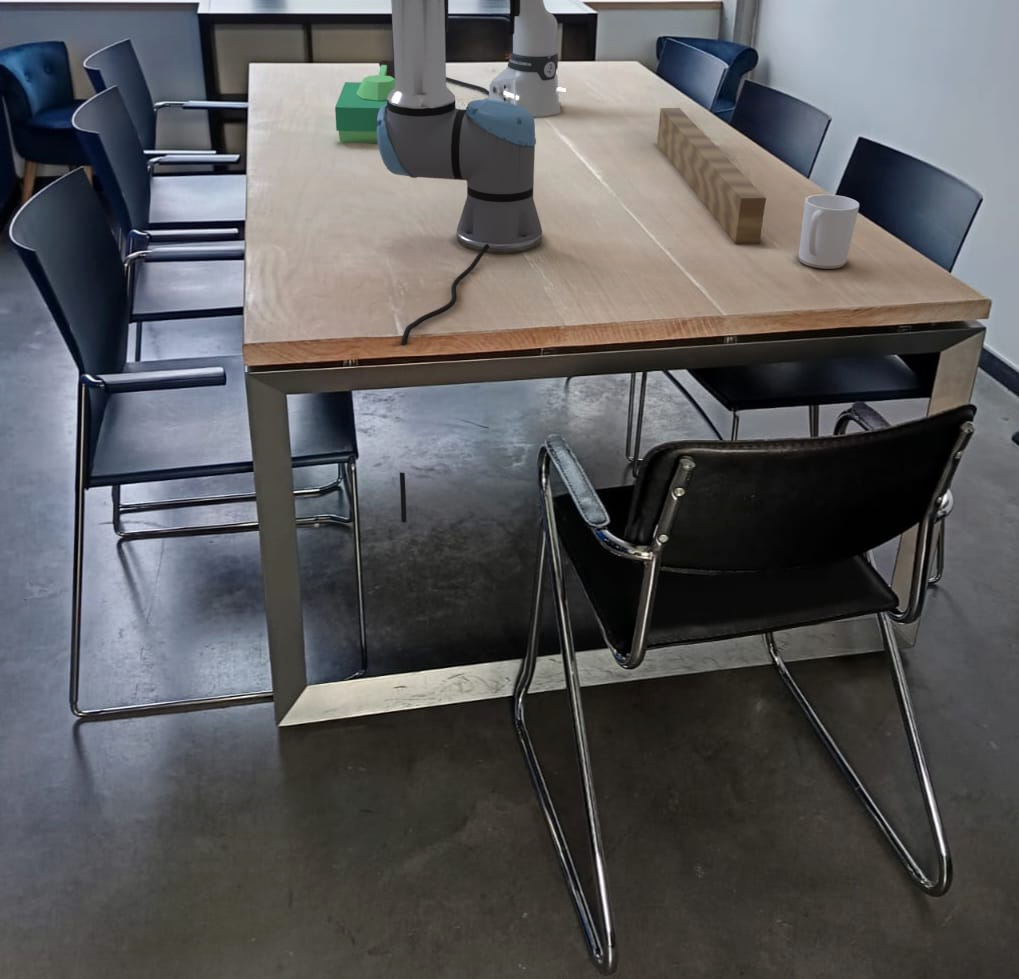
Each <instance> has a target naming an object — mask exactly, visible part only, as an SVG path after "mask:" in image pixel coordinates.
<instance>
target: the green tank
mask: <svg viewBox="0 0 1019 979" xmlns="http://www.w3.org/2000/svg"><path fill="white" fill-rule="evenodd" d="M386 73H387V65H381V68H380V67H379V72H378V74H376V75H375V74H374V75H368V76H366V77H363V78H362V80H361V82H358V81H355V82H354V81H353V82H352V81H345V82H344V84H343V86H342V88H341V92H340V93H339V96H338V99H337V101H336V104H335V107H334V112H335V128H336V129H335V130H336V131H337V132H338V137H339V142H340V143H341V144H378V139H377V127H378V123H377V117H378V112H379V110H380V108H381V107H382V106H383V105H385V104H387V96H388V95H389V94H390V92H391V91H392V90H393V89H394V88H395V79H394V78H392V77H391V76H386Z"/></svg>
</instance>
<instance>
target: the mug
mask: <svg viewBox="0 0 1019 979" xmlns="http://www.w3.org/2000/svg"><path fill="white" fill-rule="evenodd" d="M859 209H860V203H859V201H857V200H855V199H853V198H850V197H847V196H843V195H837V194H829V193H828V194H827V193H825V194H823V193H822V194H821V193H819V194H813V195H809V196H806V197H805V198H804V205H803V214H802V221H801V222H802V223H801V232H800V240H799V241H800V242H799V249H798V261H799V262H801V263H802V264H804V265H806V266H808V267H812V268H816V269H825V270H828V269H829V270H831V269H833V270H834V269H839V268H842V267H844V266H845V265H846V263H847V259H848V255H849V251H850V247H851V242H852V239H853V234H854V231H855V225H856V221H857V218H858V213H859Z"/></svg>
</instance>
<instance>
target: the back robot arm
mask: <svg viewBox="0 0 1019 979" xmlns="http://www.w3.org/2000/svg"><path fill="white" fill-rule="evenodd" d="M505 1H506V3H507V6H508V8H509V9H510V0H505ZM558 26H559V25H558V21H557V18H556V17H555V15H553V13H551V12H550V11H548V9H546V5H545V3H544V0H521V5H520V15H519V16H515V31H514V34H513V35H512V52H511V53H506V54H505V56H507V57H505V58H504V59H505V60H508V61H507V62H508V63H507V67H506V68H504V69H503V71H501V72H500V73H499V74H498V75H496V77H494V78H493V79H492V80H491V82H490V84H489V90H488V89H486V88H485V87H483V86H479V85H475V84H472V83H469V82H464V81H461V80H458V79H454V78H451V77H447V76H446V82H449V83H452V84H455V85H460V86H463V87H466V88H469V89H474V90H477V91H481V92H484V94H486V95H487V96H488V97H486V98H483V99H482V100H495V101H502V102H507V103H511V104H514V105H517V106H520V107H522V108H524V109H526V110H527V111H529V112H530V113H531V115H532V116H533V118H535V117H537V118H538V117H548V116H549V117H550V116H554V115H558V114H560V113H561V112H562V111H561V107H562V104H561V102H560V95H559V92H565V93H566V92H567V90H566V88H564V87H559V77H558V74H557V70H558V68H559V54H558V53H557V51H558V50H557V49H558V48H557V47H558Z"/></svg>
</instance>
